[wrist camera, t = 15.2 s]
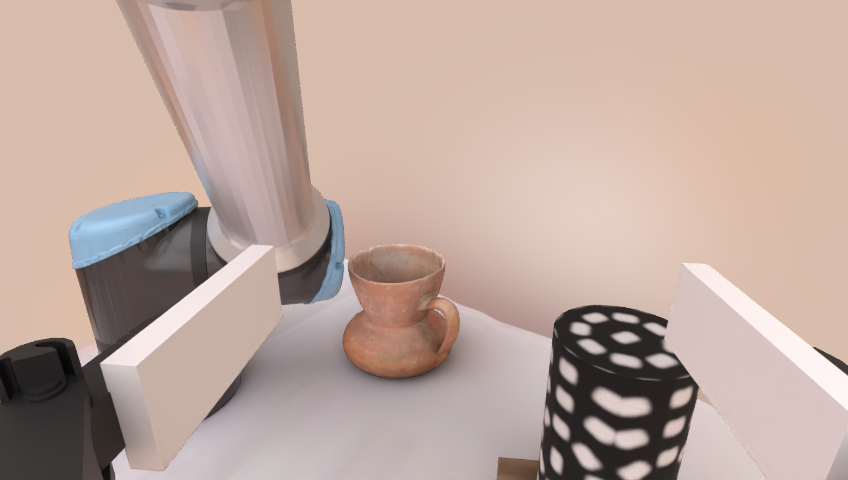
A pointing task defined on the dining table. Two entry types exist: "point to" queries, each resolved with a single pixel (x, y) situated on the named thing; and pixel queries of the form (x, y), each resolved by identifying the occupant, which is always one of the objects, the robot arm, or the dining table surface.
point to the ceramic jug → (399, 311)
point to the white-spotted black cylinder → (614, 398)
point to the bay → (517, 469)
